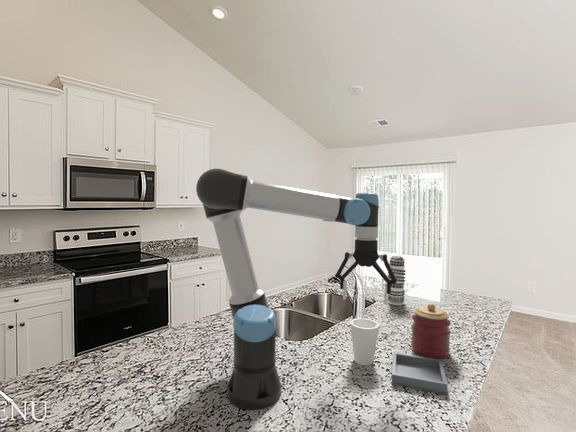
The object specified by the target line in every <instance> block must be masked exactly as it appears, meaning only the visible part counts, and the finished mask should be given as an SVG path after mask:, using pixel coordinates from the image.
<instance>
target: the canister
mask: <svg viewBox="0 0 576 432" xmlns="http://www.w3.org/2000/svg"><path fill="white" fill-rule="evenodd" d="M411 318H412V319H411V320H412V321H413V322H412V324H411V341H410V343H411V344H410V345H411V349H412V351H413V352H414V353H415V354H417V355H419V356H420V357H426V358H432V359H438V360H443V359H446V358H448V356H449V355H450V350H451V347H450V344H451V343H450V341H451V330H450V325H451V324H452V321H451V320H450V319H449V314H448V313H447V312H445V311H444V309H442V308H439V307H436V306H435V304H434V303H429V304H428V305H425V306H424V305H423V306H419V308H416V309H415V310H414V314H413V315H412V316H411Z"/></svg>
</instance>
